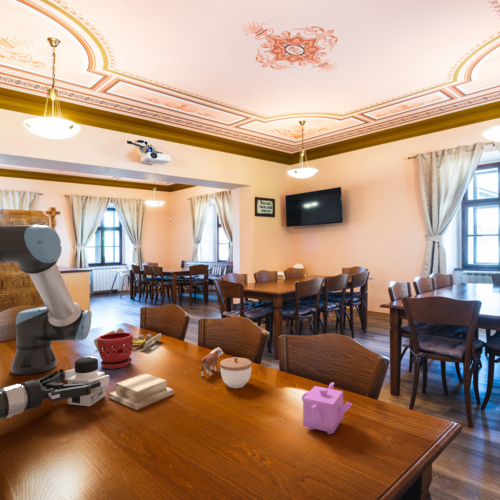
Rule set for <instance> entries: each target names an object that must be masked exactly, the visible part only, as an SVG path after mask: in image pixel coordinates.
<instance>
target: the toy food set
mask: <svg viewBox="0 0 500 500" xmlns="http://www.w3.org/2000/svg"><path fill="white" fill-rule="evenodd" d="M119 332H125V330H124V328H123V327H119V328H117V329H116V331H115V330H111V331H109V332H106V333H104V334H103V335H105V334H110V333H119ZM161 337H162V333H158V334H156V335H155V336H153V335H152V334H150V333H149V334H147V335H146V337H145V336H144V335H143V334H140V335H138V338H135V337H133V348H132V352H135V353H136V352H137V353H141V352H143V351H145V350H146V349H148V348H149V347H151V346H153V345H154V344H156V343H157V342H159V340H160V339H161ZM93 342H94V343H93V344H94V345H95V348H96V350H98V337H95V338H94V339H93ZM123 346H125V345H123ZM112 348H113V347H112ZM102 350H103V347H102ZM132 352H131V353H132Z"/></svg>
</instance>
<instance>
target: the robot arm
mask: <svg viewBox="0 0 500 500" xmlns="http://www.w3.org/2000/svg"><path fill="white" fill-rule="evenodd" d="M61 244H62V242H61V238H60V236H59V234H58V232H57V230H55V229H54V228H53V227H51V226H49V225H44V224H42V225H40V224H37V223H36V224H0V264H1V263H8V264H9V263H10V264H11V263H13V264H14V263H15V264H17V267H18V269H19V270H20V271H21V272H22V273H24V274H26V275H28V276H29V277H30V280H31V281H32V283H33V285H34V287H35V288H36V290H37V292H38V294H39V295H40V297H41V300H42V301H43V302H42V303H44V306H39V307H35V308H29V309H25V310H22V311H19V312H18V313H17V314H16V316H15V318H16V319H15V339H16V340H15V342H16V343H15V344H16V345H15V347H16V350H15V354H14V357H13V359H12V363H11V365H10V370H11V371H10V372H11V374H14V375H21V376H23V375H24V376H25V375H36V374H40V373H43V372H47V371H51V370H52V369H54V368H56V367H57V356H56V354H55V352H54V349H53V346H52V342H78V341H79V342H80V341H84V340H86V339H87V337H88V336H89V333H90V329H91V325H92V313H91V311H90V310H88V309H82V306H81V305H80V304H79V303H78V302H76V301H74V300H73V297H72V296H71V293H70V291H69V289H68V286H67V284H66V282H65V280H64V277H63V276H62V273H61V271H60V269H59V266H58V265H57V263H58V261H59V259H60V257H61V254H62V246H61ZM74 375H75V368H71V369H68V370H65V371H64V369H63V368H61V369H59V370H54V371H53V372H50V373H48V374H46V375H44V376H42V377H40V378H38V379H35V378H34V379H31V380H27V381H23V382H21V383H15V384H11V385H8V386H5V387H1V388H0V420H4V419H6V418H7V419H11V418H12V417H13V416H15V415H17V414H21V413H23V412H24V411H25V412H28V411H31V410H33V409H36V408H39V407H40V406H42V403H43V401H44V400H45V399H46V400H47V399H48V400H49V399H50V401H51V403H53V402H58V401H60V400H66V399H67V400H68V398H73V397H79V396H85V395H90V394H91V390H93V389H96V388H99V387H102V386H105V387H106V386H108V385H110V375H109V374H105V376H102V377H99V378H96V379H93V380H89V381H87V383H77V384H68V383H67V384H66V383H64V382H62V381H63V380H64V381H67V380H68V379H69V378H71V377H72V376H74Z"/></svg>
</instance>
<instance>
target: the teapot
mask: <svg viewBox="0 0 500 500" xmlns="http://www.w3.org/2000/svg"><path fill="white" fill-rule="evenodd" d="M334 386H335V382H333V381H332V382H330V383H329V386H328V388H327V387H323V386H318V385H317V386H316V385H314V386H313V388H311V390H309V391H305V392H304V393H303V394H302V396H301V400H302V426H303V427H306V428H308V427H309V428H310V429H315V430H318V431H323V432H325V433H326V432H327V433H334V434H335V432H336V430H337V429H338V427H339V425H340V423H341V422H342V420H343V418H344V414H345V413H346V412H347V411H348V410H349V409H350V407H352V405H353V404H352V403H351V402H349V401H347V402H346V403H344V391H343V390H337V389H334ZM310 429H309V430H310ZM327 433H326V434H327Z"/></svg>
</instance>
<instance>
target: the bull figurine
mask: <svg viewBox="0 0 500 500" xmlns="http://www.w3.org/2000/svg"><path fill="white" fill-rule="evenodd" d="M221 355H224V351H223V349H222V348H220V347H215V348H213V350H212V351H210V352H209V353H208V354H206V355H204V357H202V359H200V365H201V369H200V373H201V374H200V377H204V371H205V372H206V374H208V375H209V376H213V373H212V372H211V370H213V371H214V372H218V370H217V366H218V362H219V357H220V356H221ZM213 366H214V368H213Z"/></svg>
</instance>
